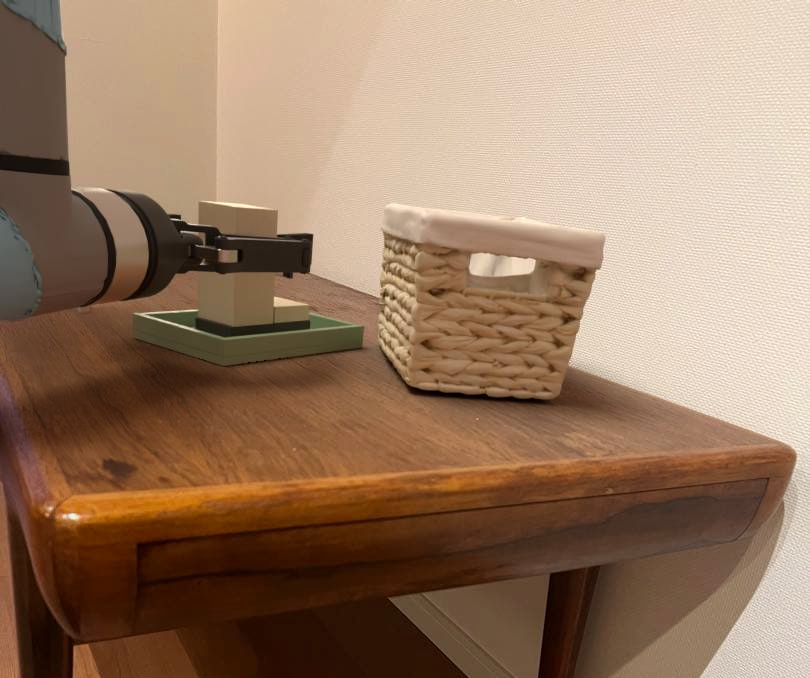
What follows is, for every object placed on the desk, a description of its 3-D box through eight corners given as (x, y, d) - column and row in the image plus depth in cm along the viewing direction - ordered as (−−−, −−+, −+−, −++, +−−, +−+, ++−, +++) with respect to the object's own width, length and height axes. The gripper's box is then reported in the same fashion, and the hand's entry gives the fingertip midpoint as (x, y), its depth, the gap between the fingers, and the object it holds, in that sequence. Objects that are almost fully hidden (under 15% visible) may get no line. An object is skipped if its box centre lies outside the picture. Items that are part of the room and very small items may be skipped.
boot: (230, 344, 73) (234, 206, 68) (194, 334, 76) (195, 200, 71) (309, 336, 82) (317, 212, 77) (275, 327, 84) (280, 206, 79)
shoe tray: (132, 337, 75) (132, 313, 74) (277, 325, 90) (278, 304, 89) (223, 366, 68) (224, 339, 67) (362, 347, 83) (364, 325, 82)
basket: (366, 340, 87) (380, 197, 81) (505, 353, 90) (528, 216, 84) (398, 397, 66) (419, 208, 60) (578, 410, 69) (616, 232, 63)
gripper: (-37, 276, 59) (126, 261, 78) (266, 328, 54) (362, 299, 73) (-49, 167, 56) (124, 179, 75) (271, 212, 51) (370, 213, 70)
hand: (242, 239), depth 74 cm, fingers open, 13 cm apart
